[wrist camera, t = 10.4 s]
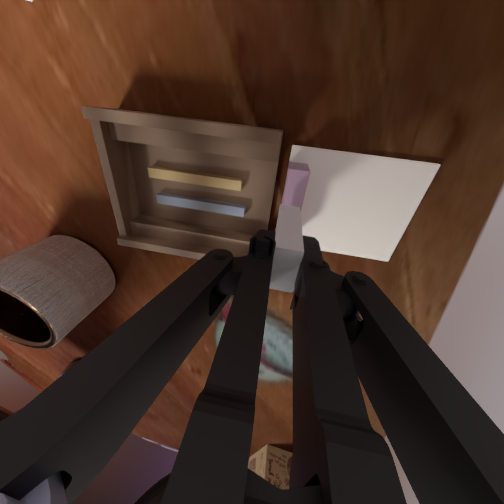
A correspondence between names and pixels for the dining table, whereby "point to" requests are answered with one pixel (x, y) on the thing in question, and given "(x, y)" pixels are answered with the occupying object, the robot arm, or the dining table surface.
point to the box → (272, 465)
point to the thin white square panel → (355, 198)
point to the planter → (51, 289)
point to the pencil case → (185, 180)
